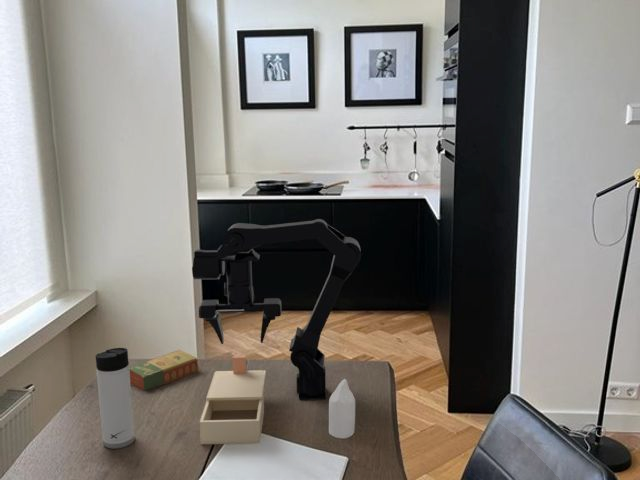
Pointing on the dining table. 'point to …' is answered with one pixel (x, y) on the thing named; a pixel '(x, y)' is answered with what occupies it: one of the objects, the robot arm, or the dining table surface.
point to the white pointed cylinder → (342, 412)
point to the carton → (162, 370)
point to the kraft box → (232, 421)
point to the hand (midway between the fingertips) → (242, 342)
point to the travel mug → (115, 398)
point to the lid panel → (237, 382)
